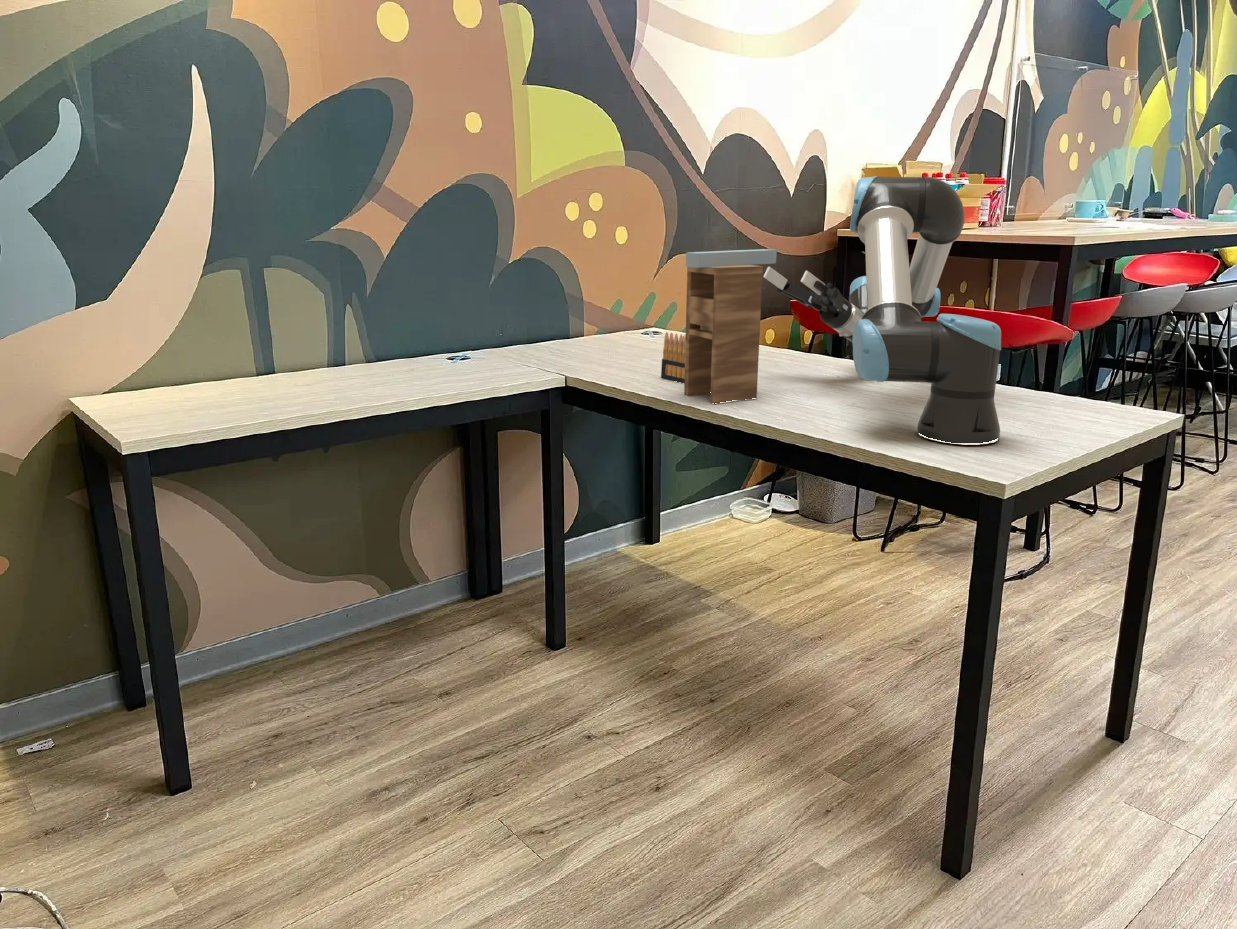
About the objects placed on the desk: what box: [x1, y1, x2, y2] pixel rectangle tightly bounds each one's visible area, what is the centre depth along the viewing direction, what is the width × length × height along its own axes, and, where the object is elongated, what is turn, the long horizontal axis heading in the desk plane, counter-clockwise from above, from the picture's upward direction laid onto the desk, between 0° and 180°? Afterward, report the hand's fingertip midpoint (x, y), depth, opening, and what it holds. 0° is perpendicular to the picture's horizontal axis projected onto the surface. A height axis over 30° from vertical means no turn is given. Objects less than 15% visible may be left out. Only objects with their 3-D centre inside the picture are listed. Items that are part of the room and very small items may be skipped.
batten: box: [685, 248, 778, 268], centre depth 210 cm, size 4×24×3 cm, turn 127°
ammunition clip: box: [660, 331, 686, 384], centre depth 233 cm, size 11×2×12 cm, turn 39°
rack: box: [683, 264, 764, 405], centre depth 212 cm, size 12×12×32 cm
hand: (784, 273), depth 218 cm, fingers open, 13 cm apart
